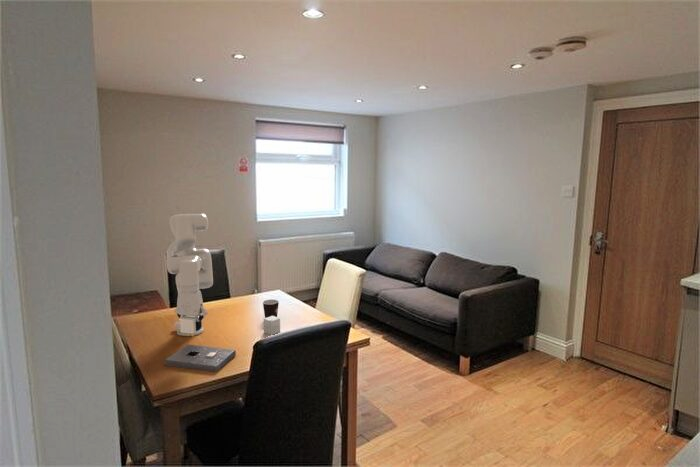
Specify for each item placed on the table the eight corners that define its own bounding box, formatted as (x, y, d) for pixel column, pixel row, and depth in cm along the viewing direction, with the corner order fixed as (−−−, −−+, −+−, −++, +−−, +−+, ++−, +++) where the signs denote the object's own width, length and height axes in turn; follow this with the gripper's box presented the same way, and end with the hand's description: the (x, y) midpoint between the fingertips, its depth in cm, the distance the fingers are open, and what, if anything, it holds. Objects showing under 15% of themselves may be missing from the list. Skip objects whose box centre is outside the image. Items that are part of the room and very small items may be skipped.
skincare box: (272, 328, 219) (272, 315, 217) (280, 331, 215) (280, 318, 214) (263, 332, 214) (263, 318, 213) (271, 335, 210) (271, 321, 209)
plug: (180, 337, 178) (179, 318, 177) (190, 331, 185) (189, 313, 184) (193, 338, 177) (192, 319, 176) (202, 332, 184) (201, 314, 183)
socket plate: (165, 365, 177) (164, 358, 177) (187, 349, 193) (187, 342, 192) (216, 372, 172) (216, 364, 172) (235, 355, 187) (235, 348, 187)
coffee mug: (270, 323, 226) (270, 305, 224) (259, 319, 231) (259, 302, 230) (286, 317, 235) (285, 300, 234) (275, 314, 240) (275, 297, 239)
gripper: (166, 289, 176) (168, 330, 179) (203, 292, 173) (204, 334, 175) (177, 284, 184) (179, 324, 186) (212, 287, 180) (214, 327, 182)
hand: (191, 328), depth 181 cm, fingers closed on plug, 6 cm apart
